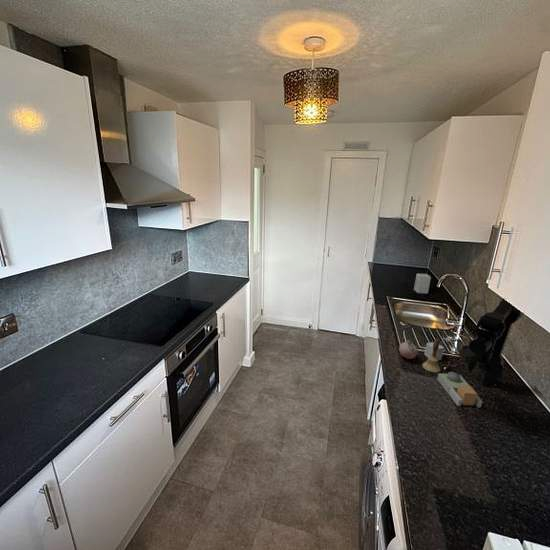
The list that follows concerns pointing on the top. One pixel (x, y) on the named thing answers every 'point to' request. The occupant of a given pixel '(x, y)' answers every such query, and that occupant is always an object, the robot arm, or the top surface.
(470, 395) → the cardboard shipping carton
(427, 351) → the product box
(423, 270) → the top surface
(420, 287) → the supplement box
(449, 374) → the two-pronged gray clamp
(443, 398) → the top surface
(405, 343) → the decorative fruit
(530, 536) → the top surface
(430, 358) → the hand bell
